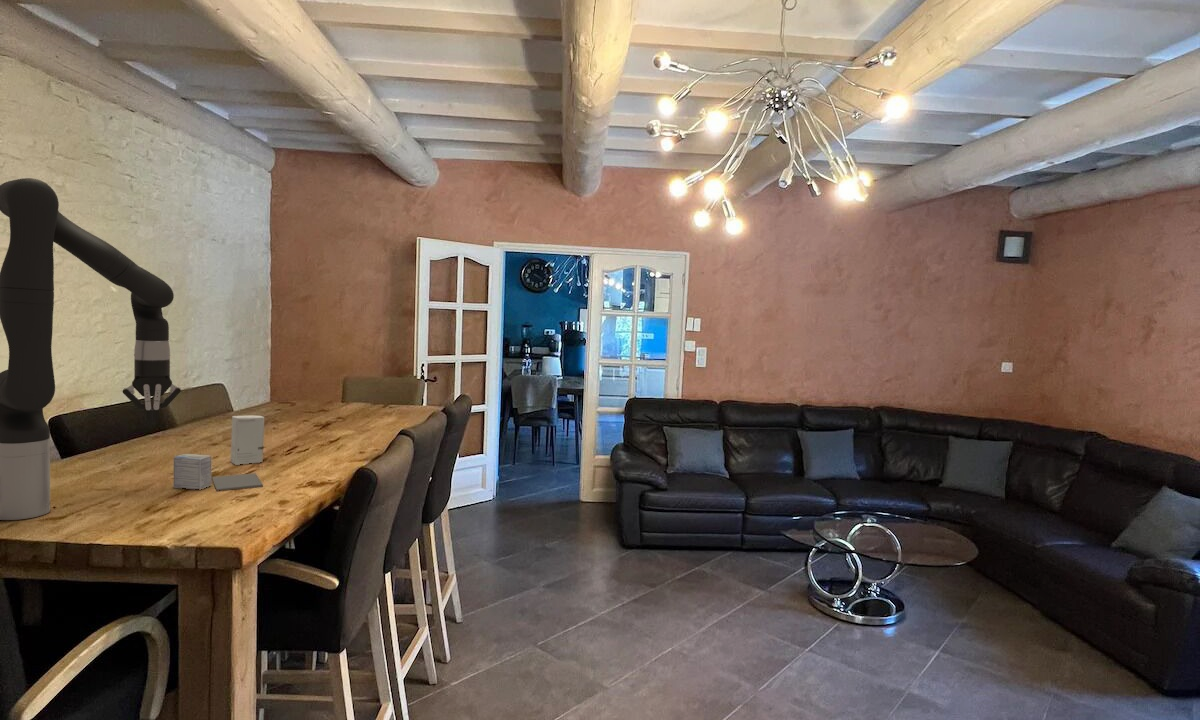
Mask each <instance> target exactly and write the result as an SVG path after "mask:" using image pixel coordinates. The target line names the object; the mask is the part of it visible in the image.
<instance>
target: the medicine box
mask: <svg viewBox="0 0 1200 720" xmlns="http://www.w3.org/2000/svg"><path fill="white" fill-rule="evenodd" d="M209 486H210V487H212V455H209V454H208V455H207V454H195V453H183V454H179V455H176V456H174V457H173V489H182V488H186V490H195V489H199V490H200V491H202V490H204V488H205V489H207V488H209ZM206 487H207V488H206ZM201 489H202V490H201ZM199 490H198V491H199Z"/></svg>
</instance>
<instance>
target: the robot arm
mask: <svg viewBox="0 0 1200 720" xmlns="http://www.w3.org/2000/svg"><path fill="white" fill-rule="evenodd" d="M59 205H60V203H59V199H58V196H57V193H56V192H55V191H54V189H53V188H52V186H50V184H47V182H45V181H43V180H40V179H37V178H31V177H26V178H19V179H13V180H8V181H6V182H3V183H1V184H0V212H1V213H2V214H3V215H4V216H6V217H8V219H9V244H8V248H7V251H6V254H5V256H4V258H3V262H2V265H1V267H0V323H1V325H2V329H3V331H4V334H5V338H6V340H7V345H8V362H7V363H8V364H7V365H8V367H7V369H5V370H3V371H1V372H0V521H17V520H26V519H32V518H36V517H40V516H44V515H47V514H48V513H50V512H51V437H50V436H51V429H50V426H49V425H48V422H47V421H46V419H45V415H44V408H46V407H47V406H48V405H49V404H50V403H51V402H52V400H53V398H54V396H55V392H56V381H55V372H54V366H53V365H54V363H53V355H52V346H53V345H52V344H53V342H52V341H53V326H54V325H53V324H54V321H53V320H54V308H55V307H54V305H55V284H54V279H55V277H54V275H55V273H54V272H55V267H54V266H55V265H54V264H55V262H54V243H55V244H57V245H58V246H60V247H61V248H62V249H64V250H66V252H68V253H70V254H71V255H73V257H75V258H77V259H78V260H79V261H81V262H83V264H84V265H87V266H88V267H89V268H90V269H92V270H94V271H95V272H96V273H98V275H101V276H102V277H103V278H104V279H106V280H108V281H109V282H111V283H112V284H113V285H116V286H118V287H121V288H124V289H126V290H128V292H130V304H131V309H132V312H133V317H134V320H135V344H134V349H133V350H134V354H133V356H134V364H133V365H134V368H133V369H134V370H133V371H134V372H133V373H134V377H133V380H132V382H131V385H129V386H127V387H125V388H123V389H122V394H123V395H124V396H125V397H126V398H127V399H128V400H130V401H131V403H132V404H134V406H135V407H137V409H142V410H144V412H145V417H144V418H145V422H146V423H148V425H156V423H158V422H159V421H160V415H159V414H160V410H161V409H162V408H163V409H164V408H167V407H168V406H169V405H170V404H171V403H172V401H174V400H175V398H176V397H177V396H178V395H180V393H181V392H182V389H181V388H180V387H179V386H178V387H177V386H176V385H174V384H173V381H172V379H171V349H170V341H169V340H170V336H169V335H170V327H169V326H170V325H169V322H168V320H167V319H166V318H165V317H164V316H163V315H164V314H163V310H162V309H163V308H166V307H168V306H170V305H171V304H172V303H173V301H174V296H175V295H174V294H175V293H174V291H173V289H172V287H171V286H170V285H169V284H168V283H167V282H166V281H164V280H163V279H162V278H160V277H158V276H157V275H155V274H153V273H152V272H150V271H148V270H147V269H145V268H143V267H141V266H140V265H138V264H137V263H136V262H134V261H133V260H132V259H131V258H129V257H128V256H126V255H125V254H124V253H123V252H121V251H120V250H119V249H118V248H116V247H115V246H113V245H112V244H110V243H108V242H107V241H105V240H104V239H102V238H100V237H98V236H96V235H95V234H93V233H91V232H89V231H87V230H86V229H84V228H83V227H80V226H79V225H78V224H76V223H74V222H73V221H72V220H70V219H68V218H67V217H66V216H65V215H63V214H62V213H61V212H60V211H59V209H60V208H59V207H60V206H59ZM135 390H136V391H137V392H138V394H139V395H140V396H141V397H144V403H143V402H142V401H141V400H140V399H139V398H138V397H137V396H136V395H135V392H136V391H135ZM168 390H169V393H170V394H169V395H168V396H167V397H165V399H164V400H163V401H161V397H162V396H163V395H165V393H166V392H167V391H168ZM151 397H153V406H152V401H151Z"/></svg>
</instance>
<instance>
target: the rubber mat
mask: <svg viewBox="0 0 1200 720" xmlns="http://www.w3.org/2000/svg"><path fill="white" fill-rule="evenodd" d="M212 480H213V481H212ZM211 481H212V483H214V484H213V487H214V488H216V489H215V491H216V492H220V491H219V490H226V491H232V490H231V489H235V490H243V488H245V489H253V488H254V487H255V488H263V487H264V484H263V483H262V481H261V480H260V478H259V477H258V474H257V473H255V472H254V473H241V474H233V475H232V474H230V475H220V476H211Z"/></svg>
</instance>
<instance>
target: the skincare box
mask: <svg viewBox="0 0 1200 720" xmlns="http://www.w3.org/2000/svg"><path fill="white" fill-rule="evenodd" d="M264 433H265V416H262V415H260V414H259V415H258V414H257V415H256V414H255V415H250V414H249V415H248V414H247V415H232V416H231V435H230V438H231V441H230V463H231V464H233V465H234V464H235V465H234V466H241V465H240V464H243V465H250V464H249V463H252V464H260V462H262V463H263V462H264V461H263V458H264V457H263V455H264V438H265V435H264Z"/></svg>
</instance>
